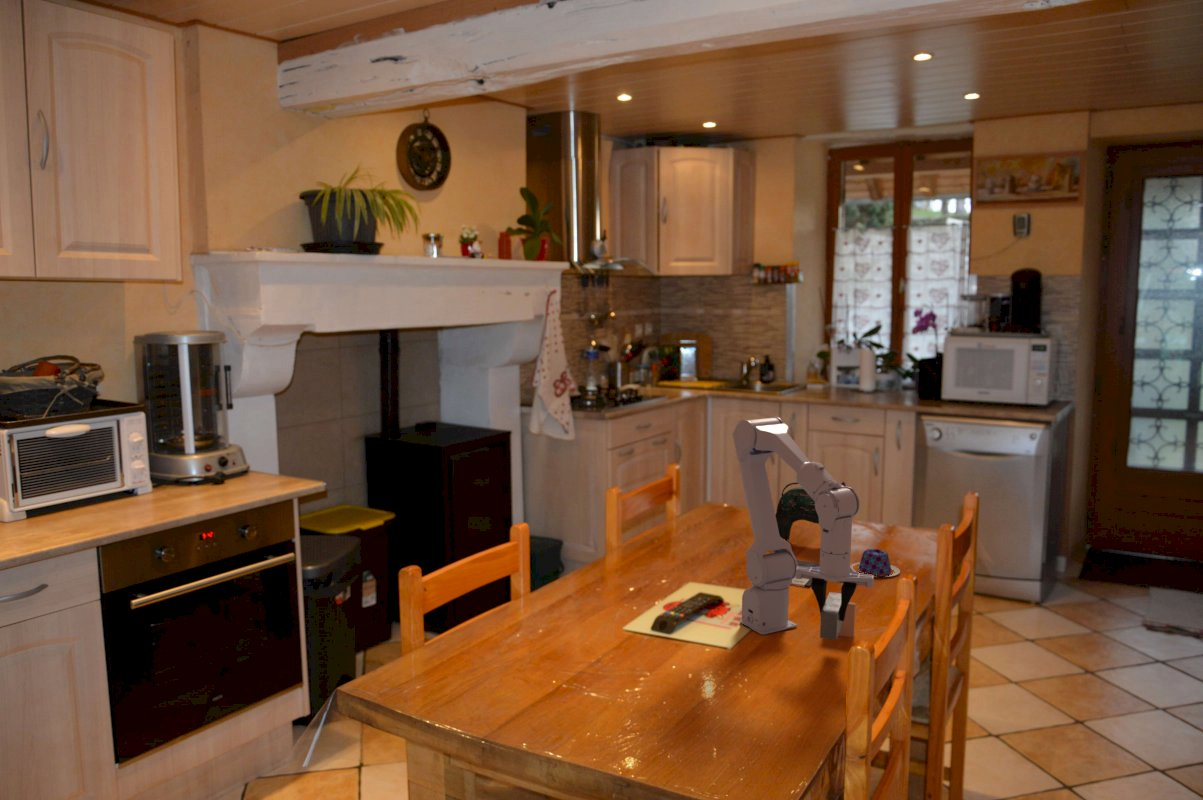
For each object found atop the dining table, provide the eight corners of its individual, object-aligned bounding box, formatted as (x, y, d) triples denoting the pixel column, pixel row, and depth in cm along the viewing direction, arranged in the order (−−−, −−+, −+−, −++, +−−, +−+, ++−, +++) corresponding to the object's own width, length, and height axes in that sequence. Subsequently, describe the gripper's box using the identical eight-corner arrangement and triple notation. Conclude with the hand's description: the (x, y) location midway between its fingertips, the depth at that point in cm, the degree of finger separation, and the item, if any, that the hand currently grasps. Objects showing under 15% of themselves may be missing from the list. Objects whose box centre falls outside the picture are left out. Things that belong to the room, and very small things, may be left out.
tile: (853, 637, 188) (855, 604, 187) (823, 633, 190) (825, 601, 189) (854, 634, 189) (855, 602, 188) (824, 630, 192) (826, 598, 191)
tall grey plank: (836, 640, 172) (837, 614, 171) (820, 637, 173) (820, 612, 173) (844, 617, 183) (845, 593, 183) (828, 615, 184) (829, 591, 184)
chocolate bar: (828, 564, 233) (810, 585, 217) (827, 568, 233) (809, 589, 217) (793, 559, 237) (773, 580, 221) (793, 563, 237) (773, 583, 222)
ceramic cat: (848, 545, 251) (851, 474, 248) (841, 552, 246) (844, 478, 243) (779, 535, 261) (781, 466, 259) (771, 540, 256) (773, 470, 253)
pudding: (906, 580, 224) (907, 559, 223) (857, 579, 224) (857, 559, 223) (891, 564, 236) (892, 544, 235) (845, 564, 236) (845, 544, 235)
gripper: (793, 551, 175) (791, 619, 177) (872, 560, 170) (869, 630, 172) (800, 541, 182) (797, 607, 183) (876, 549, 176) (873, 617, 178)
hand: (832, 617), depth 178 cm, fingers closed on tall grey plank, 3 cm apart
